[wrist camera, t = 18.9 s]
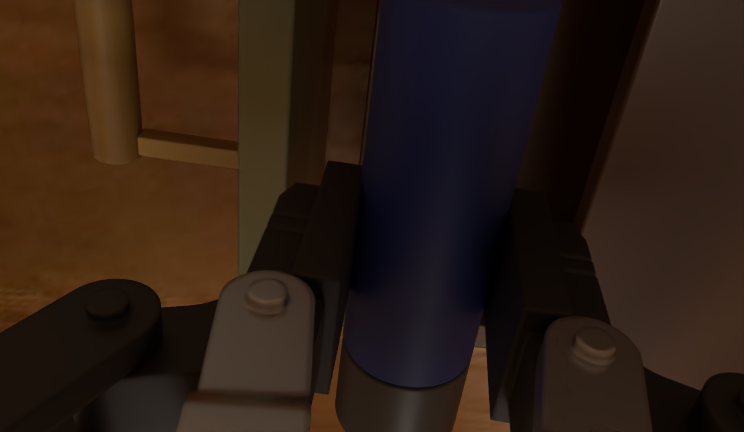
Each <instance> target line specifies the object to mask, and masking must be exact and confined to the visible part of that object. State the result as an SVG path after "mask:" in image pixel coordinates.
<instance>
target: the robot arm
mask: <svg viewBox="0 0 744 432" xmlns="http://www.w3.org/2000/svg"><path fill="white" fill-rule="evenodd" d="M361 174H362V165H356V164H349V163H342V162H335V161H328V163H327V166H326V169H325V172H324V175H323V178H322V181H321V184H320V186H319V185H312V184H305V183H298V182H297V183H295V184H294V185H292V186H291V187H290V188H288V189H287V190H286V191H284V192H283V193H282V194H280V195H279V198H278V200H277V202H276V205H275V207H274V209H273V213H272V214H271V216H270V219H269V221H268V224H267V228H265V231H264V233H263V235H262V238H261V240H260V242H259V245H258V247H257V250H256V252H255V254H254V257H253V259H252V261H251V264H250V266H249V268H248V271H247V273H245V274H242V275H240V276H238V277H236V278H234V279H232V280H231V281H230V282H228V283H227V284H226V285H225V286H224V288H223V289H222V291H221V293H220V295H219V299H218V300H215V301H212V302H208V303H204V304H198V305H189V306H177V307H164V308H161V302H160V299H159V297H158V295H157V294H156V292H155V291H154V290H153V289H151V288H150V287H148V286H147V285H144V284H142V283H140V282H136V281H133V280H127V279H107V280H101V281H96V282H92V283H89V284H86V285H84V286H81V287H79V288H77V289H75V290H73V291H72V292H70V293H68V294H66V295H65V296H63V297H61V298H60V299H58V300H56V301H54V302H53V303H51V304H49V305H48V306H46V307H44V308H42V309H41V310H39V311H37V312H35V313H34V314H32V315H30V316H29V317H27V318H25V319H23V320H22V321H20V322H18V323H17V324H15V325H13V326H11V327H10V328H8V329H6V330H5V331H3V332H1V333H0V432H310V418H311V405H312V400H313V396H314V392H315V393H321V394H329V389H330V384H331V379H332V374H333V370H334V365H335V360H336V355H337V350H338V345H339V340H340V335H341V330H342V325H343V320H344V316H345V311H346V306H347V301H348V296H349V291H350V285H351V277H352V268H353V260H354V251H355V243H356V234H357V225H358V217H359V208H360V200H361V191H362V182H361ZM591 259H592V258H591V254H590V251H589V248H588V244H587V241H586V239H585V238H584V237H583V236H582V235H581V234H580V233H579V232H578V230H577V229H576V228H575V227H574V226H573V225H572V224H571V223H570V222H564V221H558V220H552V217H551V213H550V208H549V204H548V200H547V195H546V193H545V192H541V191H534V190H527V189H520V188H515V190H514V194H513V198H512V202H511V205H510V208H509V212H508V216H507V220H506V223H505V227H504V231H503V235H502V239H501V243H500V247H499V251H498V255H497V258H496V262H495V266H494V270H493V274H492V278H491V282H490V286H489V290H488V293H487V297H486V301H485V305H484V318H485V335H486V352H487V369H488V386H489V402H490V419H491V420H495V421H501V422H508V423H510V431H511V432H744V374H741V373H734V372H725V373H719V374H716V375H713V376H712V377H710V378H709V379H708V380H707V381H706V382H705V384H704V386H703V388H702V389H701V391H700V390H697V389H695V388H692V387H690V386H687V385H684V384H682V383H679V382H676V381H674V380H671V379H668V378H666V377H663V376H661V375H659V374H656V373H654V372H653V371H651V370H649V369H647V368H645V367H644V366H643V361H642V357H641V354H640V352H639V350H638V348H637V347H636V345H635V344H634V342H633V341H632V340H631V339H630V338H629V337H628V336H626V335H625V334H624V333H623V332H621V331H620V330H618V329H617V328H615V327H613V326H611V322H610V319H609V315H608V312H607V309H606V305H605V302H604V298H603V295H602V292H601V288H600V285H599V282H598V278H597V277H596V271H595V268H594V265H593V262H591Z"/></svg>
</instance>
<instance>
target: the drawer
mask: <svg viewBox="0 0 744 432" xmlns="http://www.w3.org/2000/svg"><path fill="white" fill-rule="evenodd" d="M644 1H645V0H561V6H562V7H561V11H560V15H559V19H558V23H557V27H556V31H555V35H554V38H553V42H552V46H551V50H550V54H549V58H548V62H547V66H546V69H545V73H544V77H543V81H542V85H541V89H540V93H539V97H538V101H537V104H536V108H535V112H534V116H533V120H532V124H531V128H530V132H529V136H528V139H527V143H526V147H525V151H524V155H523V159H522V163H521V167H520V170H519V174H518V178H517V182H516V186H515V188H520V189H527V190H534V191H541V192H545V193H546V195H547V200H548V204H549V208H550V213H551V217H552V220H558V221H564V222H570V223H571V224H572V225H573V222H574V219H575V216H576V213H577V210H578V207H579V203H580V200H581V197H582V194H583V191H584V188H585V185H586V182H587V179H588V175H589V172H590V169H591V166H592V163H593V160H594V157H595V154H596V151H597V147H598V144H599V141H600V138H601V135H602V132H603V129H604V126H605V123H606V119H607V116H608V113H609V110H610V107H611V104H612V101H613V98H614V94H615V91H616V88H617V85H618V82H619V79H620V76H621V73H622V70H623V66H624V63H625V60H626V57H627V54H628V51H629V48H630V45H631V42H632V38H633V35H634V32H635V29H636V26H637V23H638V20H639V17H640V14H641V10H642V7H643V4H644ZM73 6H74V14H75V22H76V30H77V38H78V45H79V53H80V61H81V69H82V77H83V85H84V93H85V101H86V108H87V116H88V124H89V132H90V140H91V148H92V155H93V157H94V158H95V159H96V160H97V161H99V162H101V163H105V164H110V165H122V164H128V163H132V162H134V161H137V160H138V159H140V158H141V157H142V156H147V157H154V158H161V159H168V160H175V161H182V162H189V163H196V164H203V165H210V166H217V167H223V168H230V169H237V170H238V276H240V275H242V274H245V273H247V271H248V268H249V266H250V264H251V261H252V259H253V257H254V254H255V252H256V250H257V247H258V245H259V242H260V240H261V238H262V235H263V233H264V231H265V228H267V224H268V221H269V219H270V216H271V214H272V213H273V209H274V207H275V205H276V202H277V200H278V198H279V195H280V194H282V193H283V192H284V191H286V190H287V189H288V188H290V187H291V186H292V185H294V184H295V183H297V182H298V183H305V184H312V185H319V186H320V184H321V181H322V178H323V172H324V159H325V147H326V134H327V122H328V109H329V97H330V85H331V72H332V60H333V47H334V35H335V22H336V10H337V0H239V76H238V142H235V141H228V140H221V139H214V138H207V137H200V136H193V135H186V134H179V133H172V132H165V131H158V130H151V129H144V130H143V131H142V119H141V106H140V94H139V82H138V69H137V57H136V44H135V32H134V20H133V7H132V0H73ZM380 9H381V0H378V1H377V10H376V19H375V27H374V36H373V45H372V54H371V63H370V72H369V81H368V90H367V99H366V108H365V117H364V126H363V135H362V144H361V153H360V162H359V165H363V156H364V148H365V139H366V130H367V122H368V113H369V104H370V96H371V87H372V78H373V69H374V61H375V52H376V43H377V35H378V26H379V17H380ZM345 313H346V311H345ZM344 322H345V316H344V320H343V325H342V327H344ZM474 347H481V348H486V335H485V318H484V310H483V314H482V318H481V322H480V326H479V330H478V334H477V337H476V341H475V345H474Z"/></svg>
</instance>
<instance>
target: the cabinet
mask: <svg viewBox="0 0 744 432" xmlns="http://www.w3.org/2000/svg"><path fill="white" fill-rule="evenodd" d="M573 226H574V227H575V228H576V229H577V230H578V232H579V233H580V234H581V235H582V236H583V237H584V238H585V239H586V241H587V244H588V248H589V251H590V254H591V258H592V259H591V262H593V265H594V268H595V271H596V277H597V278H598V282H599V285H600V288H601V292H602V295H603V298H604V302H605V305H606V309H607V312H608V315H609V319H610V322H611V326H613V327H615V328H617V329H618V330H620V331H621V332H623V333H624V334H625V335H626V336H628V337H629V338H630V339H631V340H632V341H633V342H634V344H635V345H636V347H637V348H638V350H639V352H640V354H641V357H642V361H643V366H644V367H645V368H647V369H649V370H651V371H653V372H654V373H656V374H659V375H661V376H663V377H666V378H668V379H671V380H674V381H676V382H679V383H682V384H684V385H687V386H690V387H692V388H695V389H697V390H700V391H701V389H702V388H703V386H704V384H705V382H706V381H707V380H708V379H709V378H710V377H712V376H713V375H716V374H719V373H725V372H734V373H741V374H744V0H645V1H644V4H643V7H642V10H641V14H640V17H639V20H638V23H637V26H636V29H635V32H634V35H633V38H632V42H631V45H630V48H629V51H628V54H627V57H626V60H625V63H624V66H623V70H622V73H621V76H620V79H619V82H618V85H617V88H616V91H615V94H614V98H613V101H612V104H611V107H610V110H609V113H608V116H607V119H606V123H605V126H604V129H603V132H602V135H601V138H600V141H599V144H598V147H597V151H596V154H595V157H594V160H593V163H592V166H591V169H590V172H589V175H588V179H587V182H586V185H585V188H584V191H583V194H582V197H581V200H580V203H579V207H578V210H577V213H576V216H575V219H574V222H573Z"/></svg>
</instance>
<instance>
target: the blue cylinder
mask: <svg viewBox="0 0 744 432" xmlns="http://www.w3.org/2000/svg"><path fill="white" fill-rule="evenodd" d="M561 7H562V6H561V0H381V9H380V17H379V26H378V35H377V43H376V52H375V61H374V69H373V78H372V87H371V96H370V104H369V113H368V122H367V130H366V139H365V148H364V156H363V165H362V174H361V182H362V191H361V200H360V208H359V217H358V225H357V234H356V243H355V251H354V260H353V268H352V277H351V285H350V291H349V296H348V301H347V306H346V313H345V322H344V330H343V339H342V348H341V356H340V365H339V374H338V383H337V391H336V400H335V409H336V413H337V417H338V419H339V422H340V423H341V425H342V427H343V429H344V430H345V431H346V432H451V431H452V429H453V426H454V423H455V419H456V415H457V411H458V407H459V404H460V400H461V396H462V392H463V388H464V384H465V380H466V376H467V372H468V369H469V365H470V361H471V357H472V353H473V349H474V345H475V341H476V337H477V334H478V330H479V326H480V322H481V318H482V314H483V310H484V305H485V301H486V297H487V293H488V290H489V286H490V282H491V278H492V274H493V270H494V266H495V262H496V258H497V255H498V251H499V247H500V243H501V239H502V235H503V231H504V227H505V223H506V220H507V216H508V212H509V208H510V205H511V202H512V198H513V194H514V190H515V186H516V182H517V178H518V174H519V170H520V167H521V163H522V159H523V155H524V151H525V147H526V143H527V139H528V136H529V132H530V128H531V124H532V120H533V116H534V112H535V108H536V104H537V101H538V97H539V93H540V89H541V85H542V81H543V77H544V73H545V69H546V66H547V62H548V58H549V54H550V50H551V46H552V42H553V38H554V35H555V31H556V27H557V23H558V19H559V15H560V11H561Z"/></svg>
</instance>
